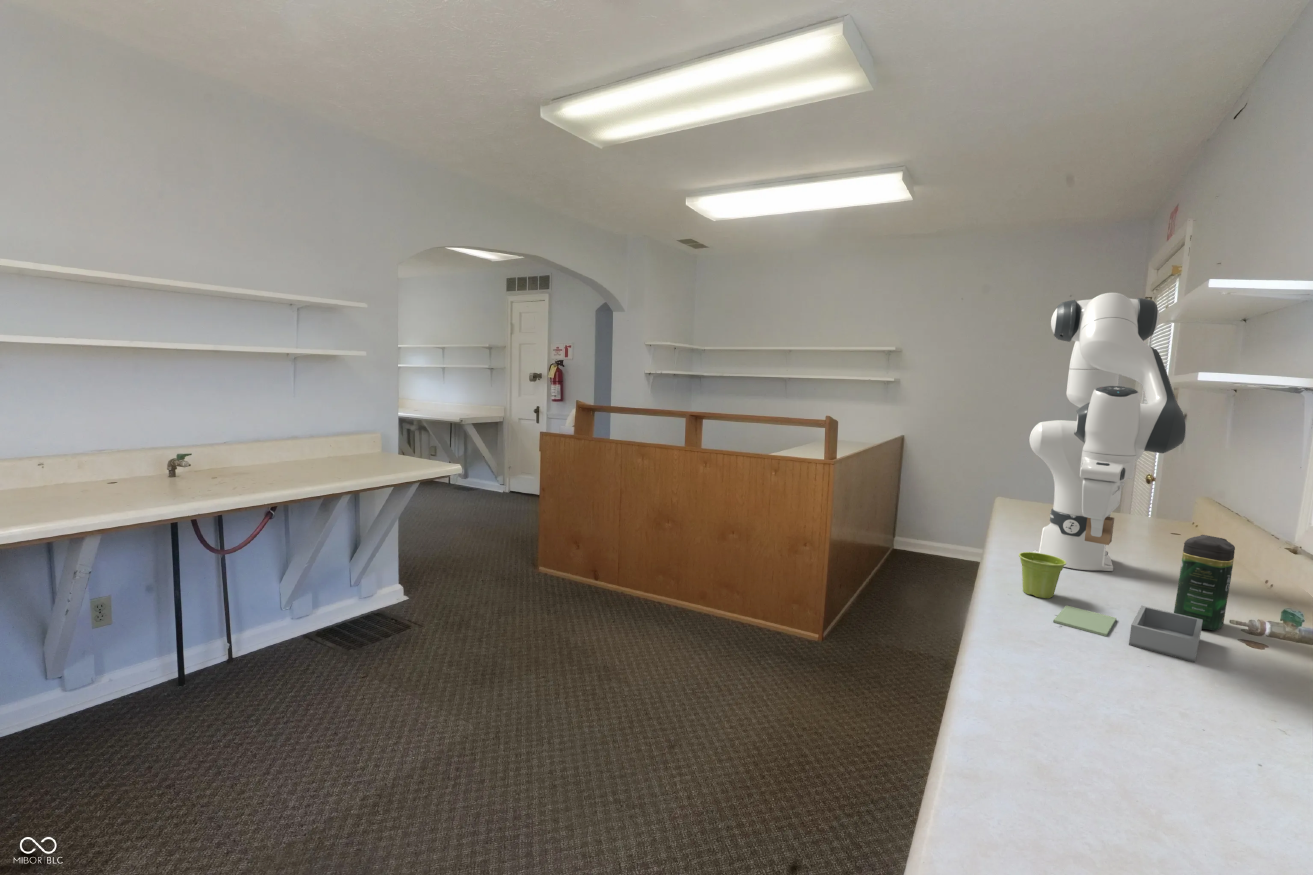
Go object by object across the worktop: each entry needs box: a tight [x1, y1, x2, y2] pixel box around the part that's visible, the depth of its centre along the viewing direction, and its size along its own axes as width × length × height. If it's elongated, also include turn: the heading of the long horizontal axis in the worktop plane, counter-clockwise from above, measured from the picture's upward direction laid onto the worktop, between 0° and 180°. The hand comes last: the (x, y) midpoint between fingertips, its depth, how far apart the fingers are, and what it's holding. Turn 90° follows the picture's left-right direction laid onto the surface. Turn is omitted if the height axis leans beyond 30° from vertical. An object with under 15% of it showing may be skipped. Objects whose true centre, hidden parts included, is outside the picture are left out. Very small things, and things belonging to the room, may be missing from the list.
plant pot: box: [1018, 551, 1066, 599], centre depth 144 cm, size 9×9×9 cm
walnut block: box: [1085, 516, 1115, 546], centre depth 127 cm, size 4×4×5 cm
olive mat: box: [1052, 605, 1117, 637], centre depth 129 cm, size 12×9×1 cm
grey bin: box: [1128, 605, 1203, 663], centre depth 120 cm, size 15×10×4 cm, turn 136°
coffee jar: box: [1173, 534, 1236, 631], centre depth 129 cm, size 10×8×19 cm
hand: (1098, 533), depth 127 cm, fingers closed on walnut block, 4 cm apart
